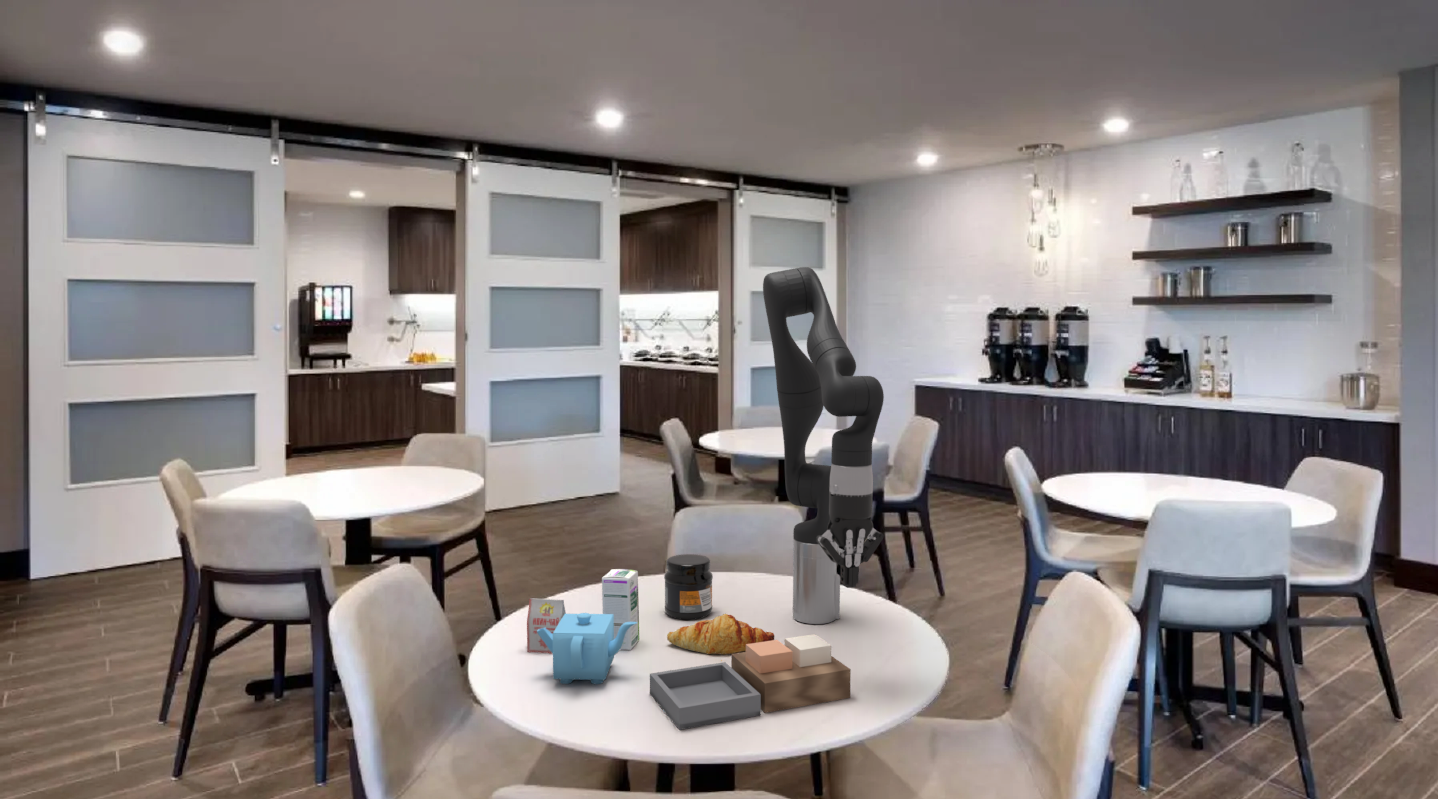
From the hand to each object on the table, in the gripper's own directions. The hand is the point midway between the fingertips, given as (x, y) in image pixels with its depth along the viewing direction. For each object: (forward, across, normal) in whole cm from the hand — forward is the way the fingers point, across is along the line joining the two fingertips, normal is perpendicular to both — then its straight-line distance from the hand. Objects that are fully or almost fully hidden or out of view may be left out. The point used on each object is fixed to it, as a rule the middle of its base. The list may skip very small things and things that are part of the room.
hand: (849, 586), depth 161 cm
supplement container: (+17, +14, -45) cm, 50 cm away
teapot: (+18, +43, -19) cm, 50 cm away
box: (+17, +28, 0) cm, 32 cm away
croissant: (+18, +15, -24) cm, 33 cm away
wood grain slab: (+17, +12, 0) cm, 21 cm away
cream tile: (+12, +8, 0) cm, 15 cm away
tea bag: (+18, +47, -35) cm, 61 cm away
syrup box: (+17, +33, -32) cm, 49 cm away
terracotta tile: (+12, +16, 0) cm, 20 cm away
